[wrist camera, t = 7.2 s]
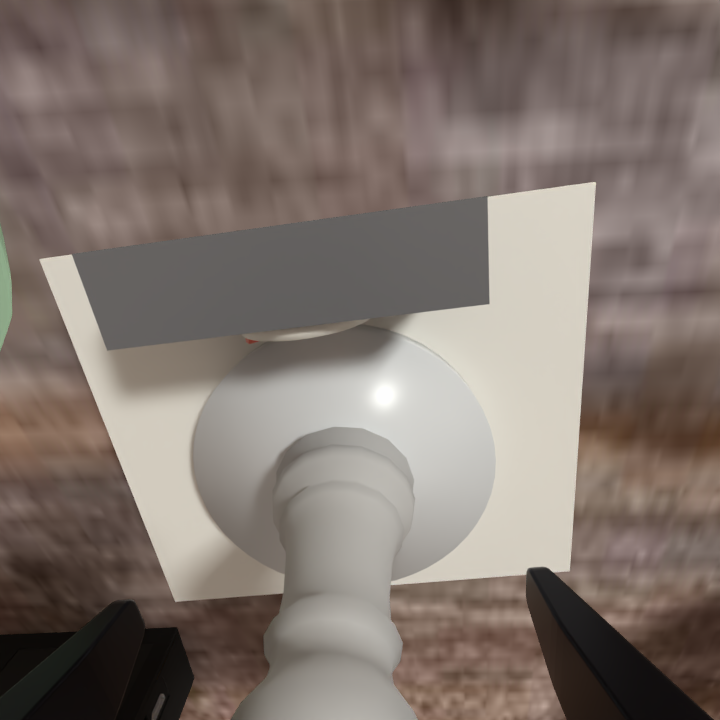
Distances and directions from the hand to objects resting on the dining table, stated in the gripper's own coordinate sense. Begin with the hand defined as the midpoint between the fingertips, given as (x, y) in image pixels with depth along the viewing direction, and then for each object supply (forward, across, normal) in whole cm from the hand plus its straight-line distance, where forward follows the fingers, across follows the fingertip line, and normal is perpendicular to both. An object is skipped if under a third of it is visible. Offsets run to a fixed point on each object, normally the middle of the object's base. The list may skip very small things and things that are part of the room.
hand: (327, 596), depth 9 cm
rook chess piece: (+5, 0, 0) cm, 5 cm away
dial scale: (+8, 0, -1) cm, 8 cm away
